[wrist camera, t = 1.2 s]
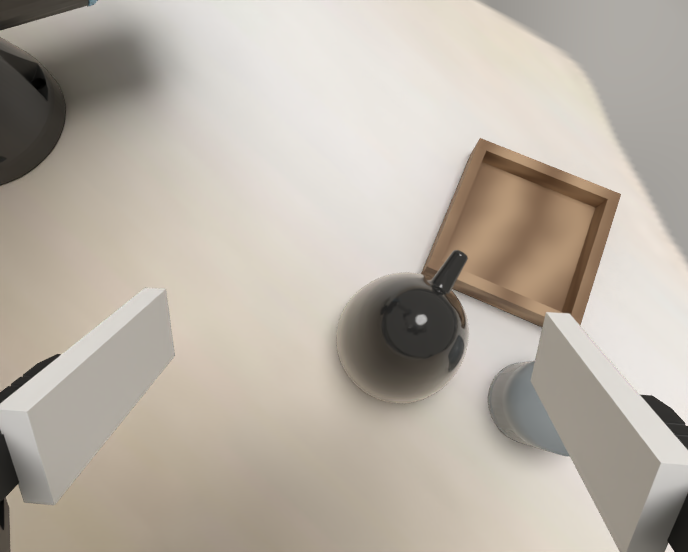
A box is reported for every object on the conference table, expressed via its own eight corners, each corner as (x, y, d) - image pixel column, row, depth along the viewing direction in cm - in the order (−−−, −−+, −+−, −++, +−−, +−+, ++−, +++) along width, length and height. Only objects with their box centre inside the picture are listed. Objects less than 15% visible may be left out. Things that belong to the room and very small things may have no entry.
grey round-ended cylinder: (477, 423, 39) (507, 431, 32) (502, 350, 41) (536, 342, 34) (552, 458, 38) (599, 473, 32) (575, 382, 40) (625, 381, 33)
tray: (420, 274, 42) (427, 266, 39) (470, 154, 45) (480, 138, 42) (561, 335, 41) (578, 331, 38) (602, 206, 44) (621, 194, 41)
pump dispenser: (468, 325, 41) (543, 289, 26) (411, 424, 39) (459, 447, 24) (374, 267, 42) (396, 202, 27) (314, 360, 40) (303, 345, 25)
